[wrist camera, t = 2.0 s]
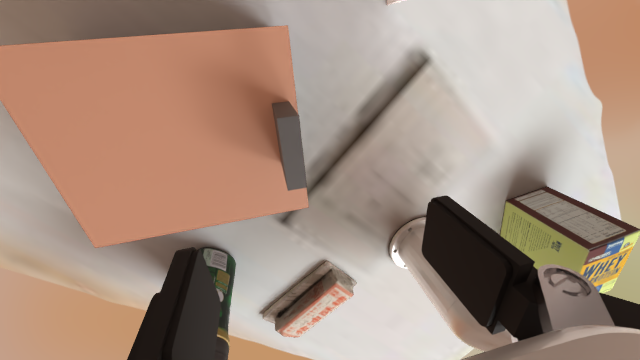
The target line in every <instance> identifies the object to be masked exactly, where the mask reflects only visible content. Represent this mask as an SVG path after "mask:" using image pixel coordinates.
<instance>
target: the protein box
mask: <svg viewBox="0 0 640 360" xmlns="http://www.w3.org/2000/svg"><path fill="white" fill-rule="evenodd" d="M639 235H640V229H638V228H636V227H634V226H632V225H629V224H627V223H625V222H623V221H621V220H618V219H616V218H614V217H612V216H610V215H608V214H605V213H603V212H601V211H599V210H597V209H595V208H592V207H590V206H588V205H586V204H584V203H582V202H579V201H577V200H575V199H573V198H571V197H568V196H566V195H564V194H562V193H560V192H558V191H556V190H553V189H551V188H549V187H545V188H542V189H539V190H536V191H533V192H530V193H527V194H525V195H522V196H519V197H516V198H513V199H510V200H507V201H506V204H505V210H504V216H503V221H502V227H501V233H500V236H502V237H503V238H504V239H506V240H507V241H508V242H510V243H511V244H512V245H514V246H515V247H516V248H518V249H519V250H520V251H522V252H523V253H524V254H526V255H527V256H528V257H530V258H531V259H532V260H533V261H535V263H534V265H533V266H534V267H535V268H536V269H539V268H540V266H543V265H547V264H554V265H560V266H564V267H567V268H570V269H572V270H574V271H576V272H578V273H580V274H581V275H583V276H585V277H586V278H587V279H588V280H590V281H591V282H592V283H593V284H594V286H595V287H596V288H597V290H598V292H599V293H604V292H607V291H609V290H611V289H612V287H613V286H614V284H615V282H616V279H617V277H618V275H619V274H620V272H621V270H622V268H623V266H624V265H625V263H626V260H627V259H628V256H629V254H630V252H631V250H632V249H633V246H634V245H635V243H636V241H637V239H638V237H639Z"/></svg>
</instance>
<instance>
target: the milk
mask: <svg viewBox="0 0 640 360" xmlns="http://www.w3.org/2000/svg"><path fill="white" fill-rule="evenodd" d="M386 1H387V5H390V4H394V3H398V2H401V1H405V0H386Z"/></svg>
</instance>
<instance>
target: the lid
mask: <svg viewBox="0 0 640 360" xmlns="http://www.w3.org/2000/svg"><path fill="white" fill-rule="evenodd" d="M0 100H1V102H2V103H3V105H4V106H5V108H6V109H7V111H8V113H9V114H10V116H11V117H12V119H13V120H14V122H15V123H16V125H17V127H18V128H19V130H20V131H21V133H22V134H23V136H24V138H25V139H26V141H27V142H28V144H29V145H30V147H31V148H32V150H33V152H34V153H35V155H36V156H37V158H38V159H39V161H40V163H41V164H42V166H43V167H44V169H45V170H46V172H47V173H48V175H49V177H50V178H51V180H52V181H53V183H54V184H55V186H56V188H57V189H58V191H59V192H60V194H61V195H62V197H63V199H64V200H65V202H66V203H67V205H68V206H69V208H70V209H71V211H72V213H73V214H74V216H75V217H76V219H77V220H78V222H79V224H80V225H81V227H82V228H83V230H84V231H85V233H86V234H87V236H88V238H89V239H90V241H91V242H92V244H93V245H94V247H95V248H99V247H104V246H109V245H115V244H120V243H125V242H130V241H136V240H141V239H146V238H151V237H156V236H162V235H167V234H172V233H177V232H183V231H188V230H193V229H198V228H203V227H209V226H214V225H219V224H224V223H230V222H235V221H240V220H245V219H251V218H256V217H261V216H266V215H271V214H277V213H282V212H287V211H292V210H298V209H303V208H308V207H309V206H308V197H307V183H306V174H305V166H304V157H303V148H302V139H301V130H300V121H299V115H298V110H297V101H296V92H295V84H294V75H293V66H292V57H291V49H290V40H289V31H288V26H274V27H260V28H245V29H231V30H217V31H203V32H188V33H174V34H160V35H146V36H131V37H117V38H103V39H89V40H75V41H60V42H46V43H32V44H18V45H3V46H0Z"/></svg>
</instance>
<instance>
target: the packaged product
mask: <svg viewBox="0 0 640 360" xmlns="http://www.w3.org/2000/svg"><path fill="white" fill-rule="evenodd" d="M356 284H357V282H356V281H354V280H353V279H352V278H351V277H349V276H348V275H347V274H345V273H344V272H342V271H341V270H339V269H338V268H337V267H335V266H334V265H333V264H331V263H330V262H328V261H326V262H324V263H323V264H322V265H321V266H320V267H318V268H317V269H316V270H315V271H314V272H312V273H311V274H310V275H308V276H307V277H306V278H304V279H303V280H302V281H301V282H300V283H298V284H297V285H296V286H295V287H293V288H292V289H291V290H290V291H288V292H287V293H286V294H285V295H284V296H282V297H281V298H280V299H279V300H278V301H277V302H276V303H274V304H273V305H272V306H271V307H270V308H269V309H268V310H266V311H265V312H264V313H263V319H264V320H266V321H269V322H272V323H274V324H275V330H276V331H277V332H278V333H280V334H281V335H282V336H284V337H300V336H301V335H303V334H304V333H305V332H307V331H308V330H309V329H310V328H312V327H313V326H314V325H316V324H317V323H318V322H320V321H321V320H322V319H323V318H325V317H326V316H327V315H328V314H330V313H331V312H333V311H334V310H335V309H337V308H338V307H339V306H340V305H342V304H343V303H344V302H345V301H347V300H348V299H350V298H351V297H352V296H353V295H354V294H353V287H354V286H355V285H356Z"/></svg>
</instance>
